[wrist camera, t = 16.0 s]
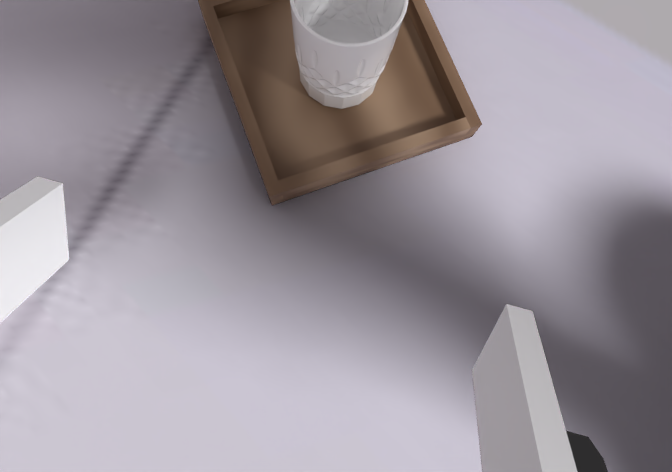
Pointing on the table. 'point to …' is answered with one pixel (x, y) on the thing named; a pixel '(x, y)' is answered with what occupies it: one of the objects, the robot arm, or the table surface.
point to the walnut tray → (328, 122)
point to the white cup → (344, 46)
